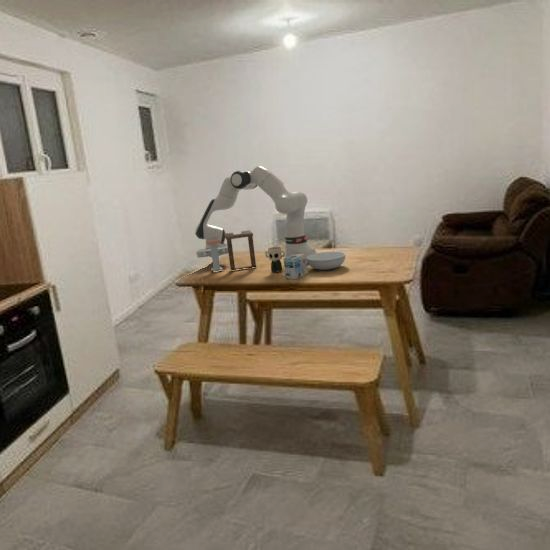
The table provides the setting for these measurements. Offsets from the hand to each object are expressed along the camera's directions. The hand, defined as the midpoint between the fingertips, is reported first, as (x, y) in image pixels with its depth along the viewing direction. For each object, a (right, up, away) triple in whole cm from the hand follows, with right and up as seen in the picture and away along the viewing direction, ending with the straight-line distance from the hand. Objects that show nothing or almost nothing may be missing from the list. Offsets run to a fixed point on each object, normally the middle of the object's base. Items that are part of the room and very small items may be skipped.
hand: (214, 254), depth 286 cm
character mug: (+36, -11, -21) cm, 43 cm away
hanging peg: (+2, -10, -4) cm, 11 cm away
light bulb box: (+46, -13, -35) cm, 60 cm away
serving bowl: (+63, -9, -25) cm, 68 cm away
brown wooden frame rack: (+16, -8, -2) cm, 18 cm away
